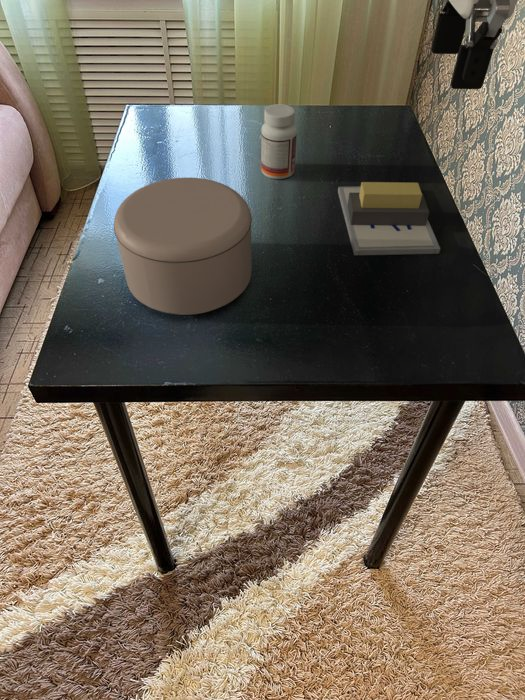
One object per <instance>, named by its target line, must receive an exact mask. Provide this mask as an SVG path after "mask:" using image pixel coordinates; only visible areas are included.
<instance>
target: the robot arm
mask: <svg viewBox="0 0 525 700" xmlns="http://www.w3.org/2000/svg"><path fill="white" fill-rule="evenodd" d="M517 3H518V0H441V2H440V6H439V9H440V10H439V11H440V12H439V13H438V16H437V20H436V25H435V30H434V34H433V38H432V44H431V47H430V51H431V52H432V54H434V55H457V56H456V60H455V64H454V68H453V71H452V75H451V79H450V83H449V84H450V87H451V89H452V90H480V89H482V88H483V86H484V83H485V79H486V76H487V73H488V70H489V66H490V63H491V60H492V57H493V53H494V49H496V47H497V44H498V40H499V37H500V35H501V34H502V33H503V25H504V23H505V21H506V20H508V19H510V18H511V17H512V16H513V15H514V12H515V10H516V6H517ZM476 23H480V25H479V26H478V27H477V29H476ZM463 40H464V44H463Z"/></svg>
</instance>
